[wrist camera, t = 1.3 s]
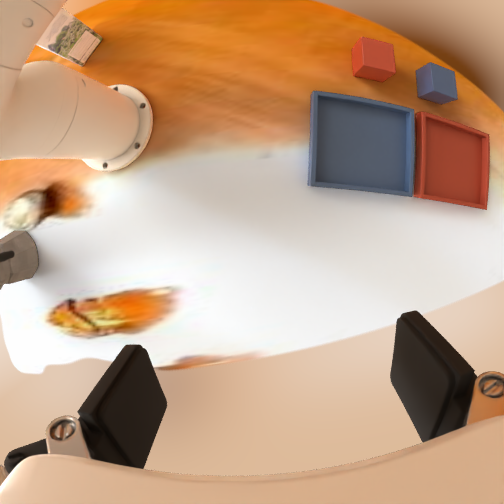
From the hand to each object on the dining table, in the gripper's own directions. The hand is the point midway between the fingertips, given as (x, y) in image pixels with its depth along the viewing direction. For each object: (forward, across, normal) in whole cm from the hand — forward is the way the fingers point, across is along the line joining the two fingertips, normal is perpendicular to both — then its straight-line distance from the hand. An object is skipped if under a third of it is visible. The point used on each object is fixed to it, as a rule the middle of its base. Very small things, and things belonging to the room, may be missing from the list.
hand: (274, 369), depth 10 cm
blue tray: (+28, -14, -10) cm, 33 cm away
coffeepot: (+28, +42, -3) cm, 51 cm away
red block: (+28, -17, -21) cm, 39 cm away
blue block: (+28, -27, -18) cm, 43 cm away
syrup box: (+28, +24, -34) cm, 50 cm away
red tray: (+28, -29, -7) cm, 41 cm away
